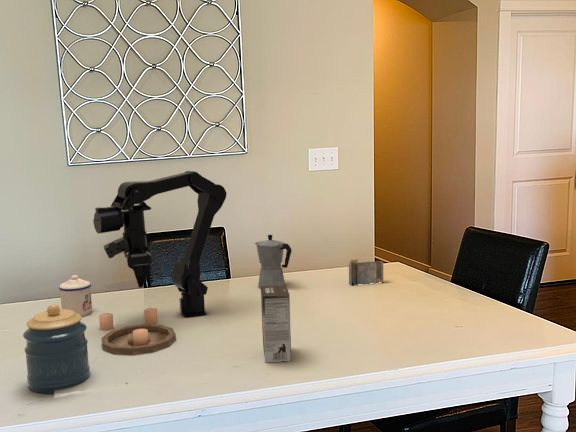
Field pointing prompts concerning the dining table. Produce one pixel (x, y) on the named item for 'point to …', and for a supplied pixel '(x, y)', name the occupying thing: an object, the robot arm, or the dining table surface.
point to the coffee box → (276, 323)
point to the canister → (56, 350)
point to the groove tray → (123, 340)
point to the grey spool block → (365, 272)
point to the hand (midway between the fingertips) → (139, 283)
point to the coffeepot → (272, 262)
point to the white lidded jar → (76, 295)
